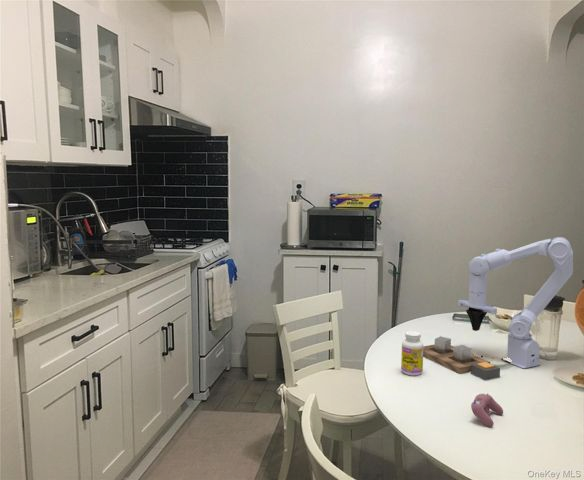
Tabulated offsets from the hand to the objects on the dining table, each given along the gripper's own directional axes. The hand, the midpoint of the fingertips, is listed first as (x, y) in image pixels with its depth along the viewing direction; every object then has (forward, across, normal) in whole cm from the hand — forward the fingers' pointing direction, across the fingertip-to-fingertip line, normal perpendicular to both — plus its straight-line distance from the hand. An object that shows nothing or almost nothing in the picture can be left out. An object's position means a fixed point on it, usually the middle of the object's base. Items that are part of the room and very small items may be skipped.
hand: (475, 330), depth 176 cm
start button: (+9, -14, +12) cm, 20 cm away
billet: (+9, -4, +11) cm, 15 cm away
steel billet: (+9, +6, +10) cm, 15 cm away
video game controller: (+9, -32, +36) cm, 50 cm away
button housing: (+9, -14, +12) cm, 21 cm away
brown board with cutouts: (+9, +1, +10) cm, 14 cm away
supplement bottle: (+9, +1, +30) cm, 31 cm away
